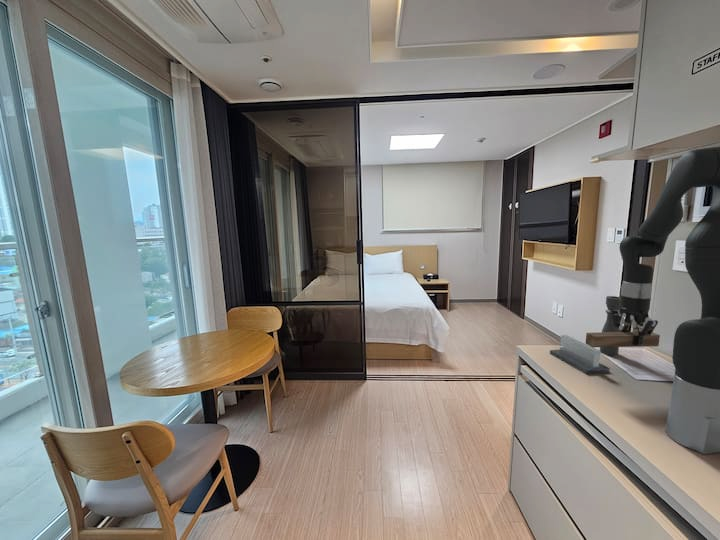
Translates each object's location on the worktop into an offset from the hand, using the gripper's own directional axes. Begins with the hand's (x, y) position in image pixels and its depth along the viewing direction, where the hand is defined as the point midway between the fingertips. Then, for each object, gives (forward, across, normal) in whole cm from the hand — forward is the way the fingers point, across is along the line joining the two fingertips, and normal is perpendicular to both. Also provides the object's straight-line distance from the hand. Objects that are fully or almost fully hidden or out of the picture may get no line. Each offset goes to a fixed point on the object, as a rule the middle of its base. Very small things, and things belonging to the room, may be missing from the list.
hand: (630, 342), depth 101 cm
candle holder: (+15, +23, -18) cm, 33 cm away
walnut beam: (+1, 0, +3) cm, 3 cm away
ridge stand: (+15, +17, +2) cm, 23 cm away
